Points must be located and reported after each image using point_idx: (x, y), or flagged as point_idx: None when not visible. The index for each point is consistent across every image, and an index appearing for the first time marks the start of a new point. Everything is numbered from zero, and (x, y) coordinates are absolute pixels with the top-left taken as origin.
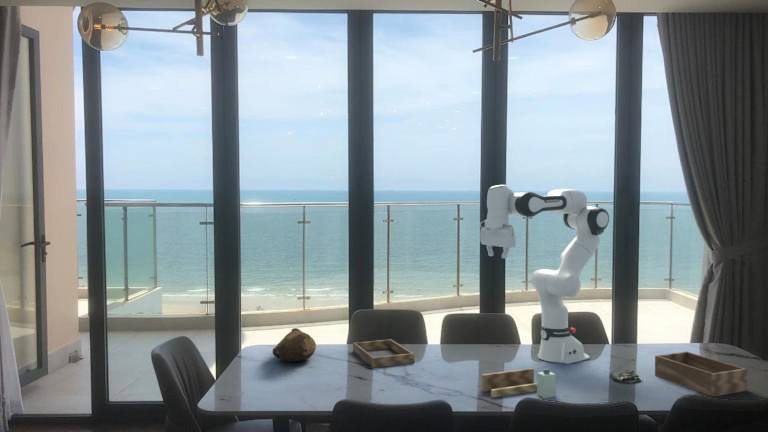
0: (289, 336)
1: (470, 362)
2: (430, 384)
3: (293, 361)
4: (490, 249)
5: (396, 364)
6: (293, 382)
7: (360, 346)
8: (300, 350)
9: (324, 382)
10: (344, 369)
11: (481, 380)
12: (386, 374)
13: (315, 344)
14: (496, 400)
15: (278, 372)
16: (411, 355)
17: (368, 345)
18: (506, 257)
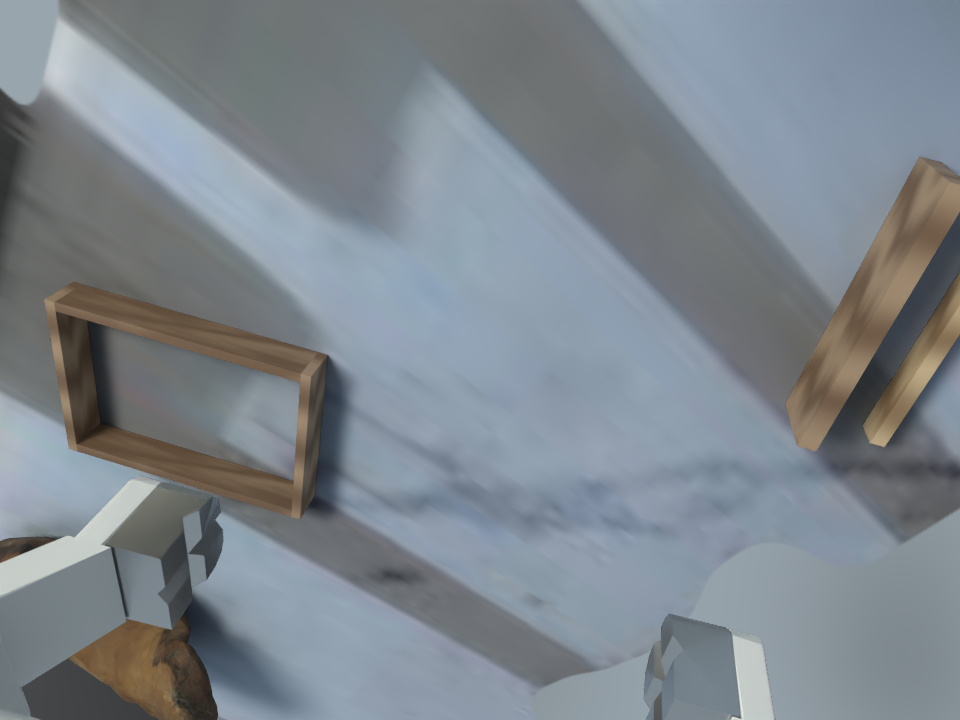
0: (74, 659)
1: (448, 146)
2: (592, 481)
3: None
4: (53, 615)
5: (320, 422)
6: (343, 689)
7: (84, 419)
8: (209, 681)
9: (383, 651)
10: (292, 559)
11: (793, 429)
12: (407, 509)
13: None
14: (908, 442)
15: (243, 669)
16: (312, 384)
17: (80, 391)
18: (754, 652)
